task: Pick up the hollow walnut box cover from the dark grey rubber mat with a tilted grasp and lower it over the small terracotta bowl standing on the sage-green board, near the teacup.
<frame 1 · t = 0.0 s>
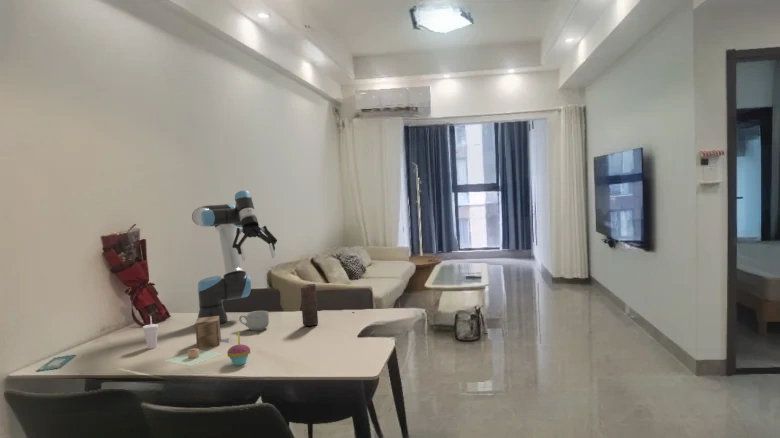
hand: (258, 258, 234), 36 cm above the table, tool tilted 35°, fingers open, 13 cm apart
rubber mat: (209, 345, 227), on the table
smoothie: (152, 347, 229), on the table
teacup: (255, 330, 250), on the table
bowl: (193, 357, 208), resting on green board
walnut cover: (209, 344, 227), resting on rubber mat
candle: (310, 326, 251), on the table
cupcake: (239, 363, 199), on the table
green board: (193, 358, 208), on the table
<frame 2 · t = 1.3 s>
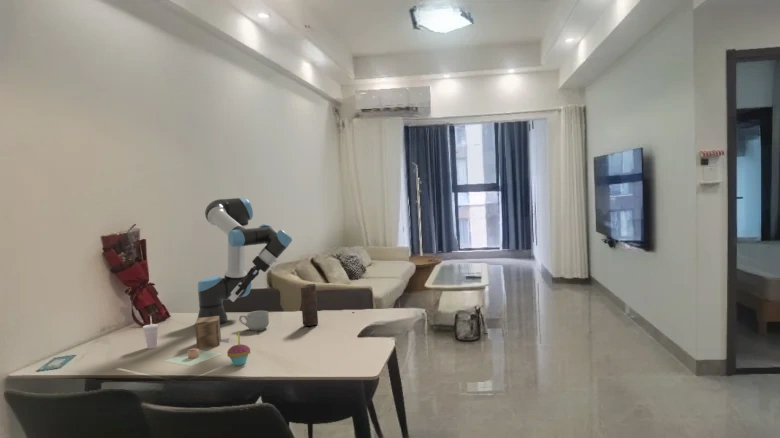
hand: (231, 297, 228), 20 cm above the table, tool tilted 45°, fingers open, 13 cm apart
nothing on the table moved.
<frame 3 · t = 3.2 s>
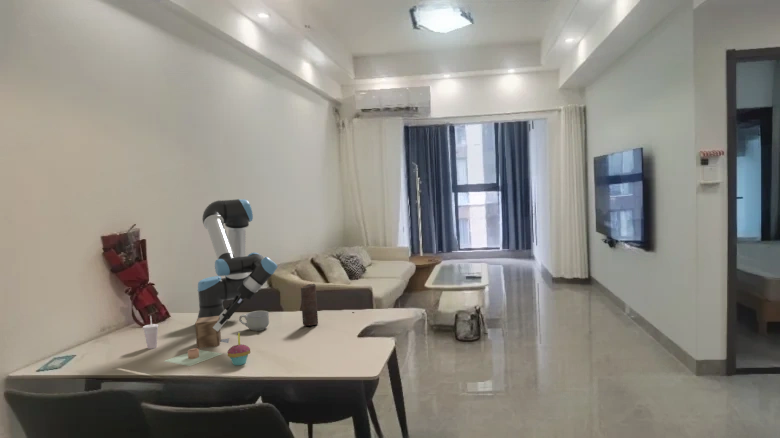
hand: (216, 325, 226), 8 cm above the table, tool tilted 45°, fingers open, 13 cm apart
nothing on the table moved.
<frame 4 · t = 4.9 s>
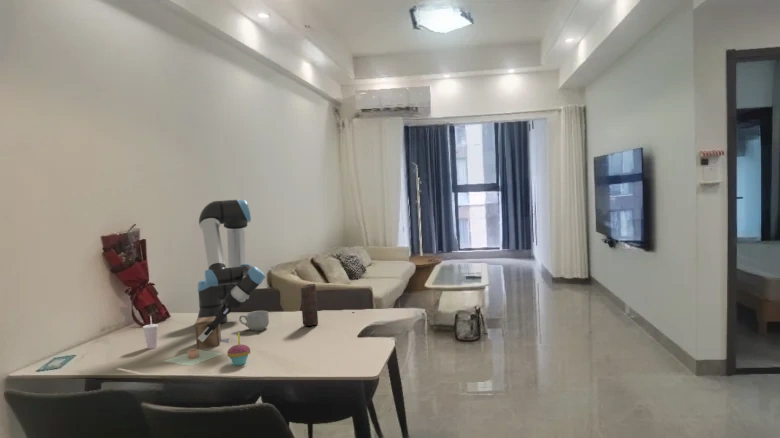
hand: (201, 336, 226), 4 cm above the table, tool tilted 45°, fingers closed on walnut cover, 10 cm apart
walnut cover: (209, 344, 227), resting on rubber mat, touching gripper
everything else where it was.
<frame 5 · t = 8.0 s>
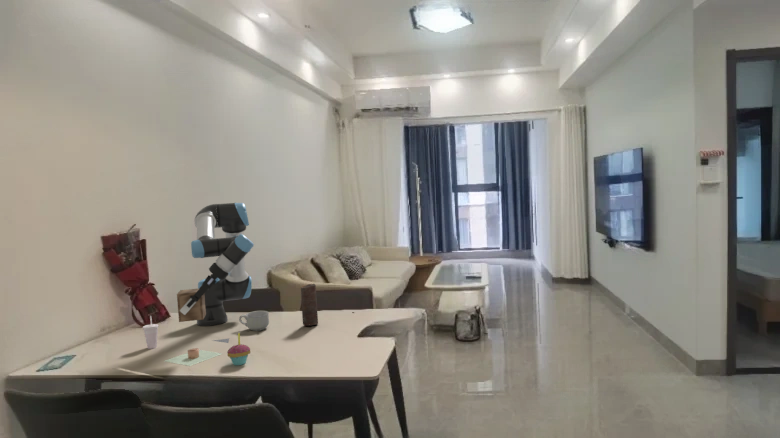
hand: (184, 310, 208), 20 cm above the table, tool tilted 45°, fingers closed on walnut cover, 10 cm apart
walnut cover: (192, 318, 209), point 16 cm above the table, touching gripper
everything else where it was.
when the fingers open (5 cm above the table, at t = 11.4 s): walnut cover stays where it is, resting on green board.
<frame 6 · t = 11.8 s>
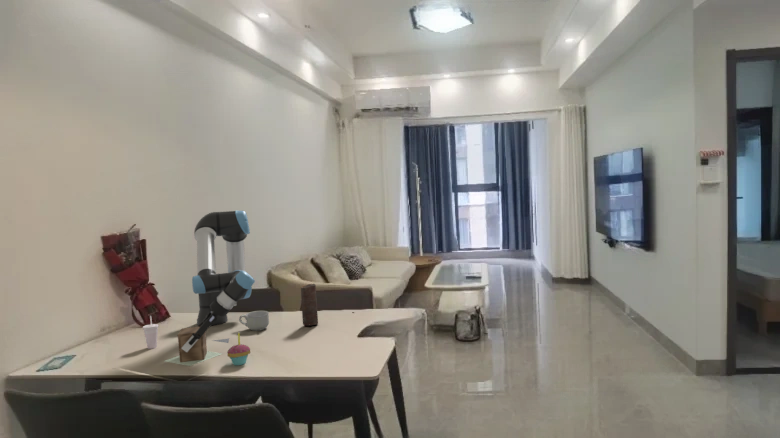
hand: (186, 345, 207), 6 cm above the table, tool tilted 45°, fingers open, 13 cm apart
walnut cover: (193, 357, 208), point 1 cm above the table, touching green board
everything else where it was.
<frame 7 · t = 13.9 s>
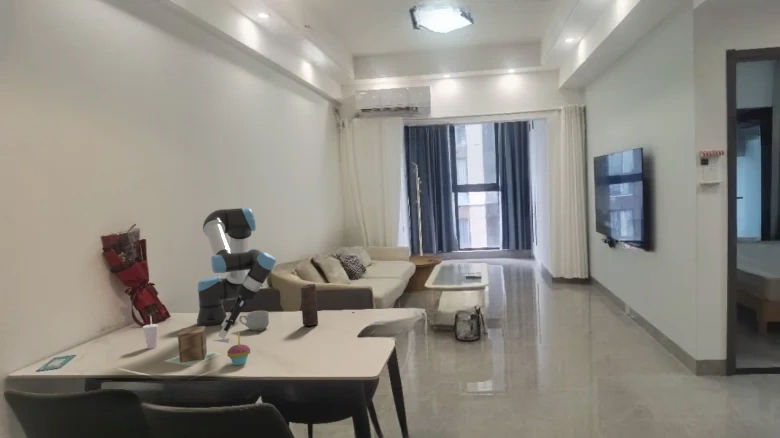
hand: (222, 331, 213), 9 cm above the table, tool tilted 35°, fingers open, 13 cm apart
nothing on the table moved.
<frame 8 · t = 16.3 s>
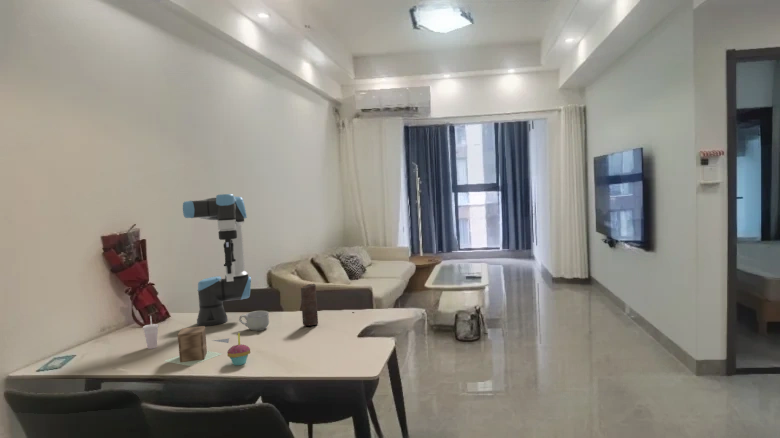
hand: (231, 279, 224), 29 cm above the table, tool pointing down, fingers open, 13 cm apart
nothing on the table moved.
at the end: walnut cover 0.1 cm from the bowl (horizontally); walnut cover point 0.6 cm above the table; walnut cover tilted 0° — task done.
